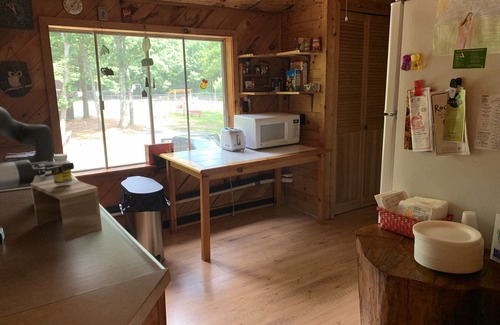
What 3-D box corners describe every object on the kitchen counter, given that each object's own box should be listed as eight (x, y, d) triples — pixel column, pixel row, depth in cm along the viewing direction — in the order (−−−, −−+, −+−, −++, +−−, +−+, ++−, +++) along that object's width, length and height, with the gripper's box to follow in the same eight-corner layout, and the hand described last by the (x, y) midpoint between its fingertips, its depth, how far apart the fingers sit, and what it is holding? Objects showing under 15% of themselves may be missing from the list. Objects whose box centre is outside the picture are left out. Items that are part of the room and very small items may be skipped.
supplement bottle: (64, 185, 118) (61, 156, 116) (50, 184, 119) (46, 156, 117) (75, 181, 123) (72, 153, 121) (62, 180, 124) (58, 153, 122)
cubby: (37, 224, 128) (30, 183, 124) (70, 215, 137) (65, 176, 134) (66, 241, 114) (60, 196, 110) (102, 229, 123) (97, 187, 119)
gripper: (20, 165, 104) (78, 156, 117) (3, 159, 113) (58, 151, 126) (23, 189, 106) (80, 178, 118) (6, 181, 114) (61, 172, 127)
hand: (68, 164), depth 122 cm, fingers closed on supplement bottle, 5 cm apart
